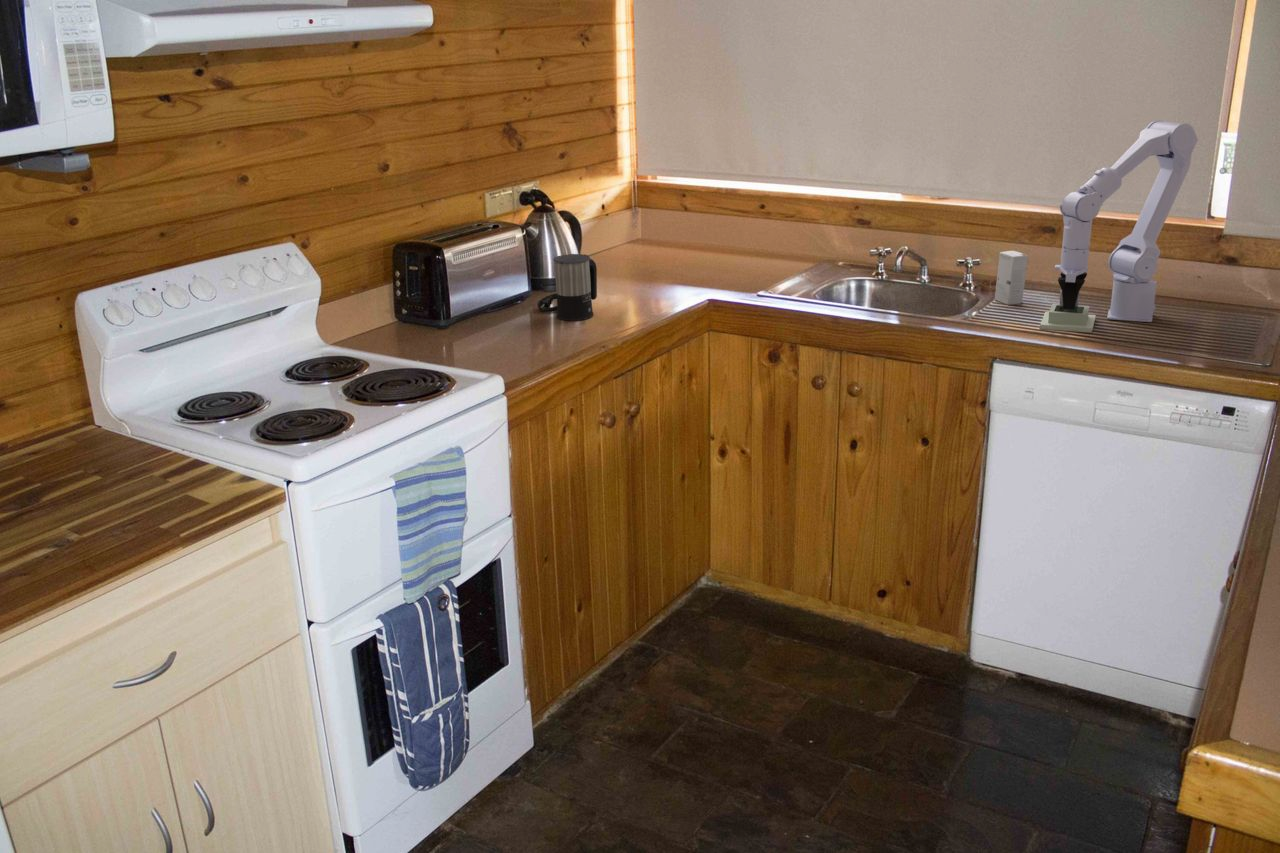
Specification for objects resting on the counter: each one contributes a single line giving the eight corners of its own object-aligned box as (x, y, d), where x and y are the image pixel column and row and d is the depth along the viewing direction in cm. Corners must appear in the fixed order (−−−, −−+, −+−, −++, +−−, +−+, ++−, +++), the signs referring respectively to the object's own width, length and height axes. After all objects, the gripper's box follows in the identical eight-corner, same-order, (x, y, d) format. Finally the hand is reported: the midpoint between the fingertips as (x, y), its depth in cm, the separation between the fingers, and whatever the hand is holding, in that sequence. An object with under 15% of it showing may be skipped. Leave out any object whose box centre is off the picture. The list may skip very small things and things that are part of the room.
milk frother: (588, 322, 274) (584, 261, 269) (526, 320, 278) (521, 261, 272) (602, 307, 287) (599, 249, 282) (543, 306, 291) (539, 249, 285)
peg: (1078, 313, 258) (1080, 283, 256) (1076, 318, 255) (1078, 287, 252) (1059, 312, 260) (1062, 283, 258) (1057, 317, 257) (1059, 287, 254)
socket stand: (1095, 319, 261) (1096, 304, 260) (1091, 332, 251) (1093, 317, 250) (1045, 315, 265) (1046, 301, 264) (1039, 328, 255) (1041, 313, 254)
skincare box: (993, 299, 281) (997, 251, 276) (1009, 298, 282) (1013, 249, 278) (1008, 305, 275) (1012, 256, 271) (1024, 303, 276) (1028, 254, 272)
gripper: (1059, 240, 260) (1054, 297, 264) (1053, 252, 247) (1047, 313, 252) (1092, 241, 257) (1086, 299, 262) (1088, 254, 244) (1081, 315, 249)
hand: (1069, 306), depth 257 cm, fingers closed on peg, 4 cm apart
